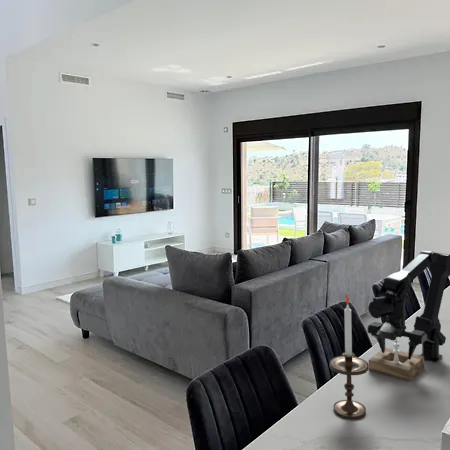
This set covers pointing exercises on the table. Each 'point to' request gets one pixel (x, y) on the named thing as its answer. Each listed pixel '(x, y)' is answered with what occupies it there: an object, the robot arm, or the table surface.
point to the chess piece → (396, 351)
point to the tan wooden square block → (396, 364)
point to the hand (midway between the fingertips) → (396, 355)
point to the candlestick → (349, 373)
